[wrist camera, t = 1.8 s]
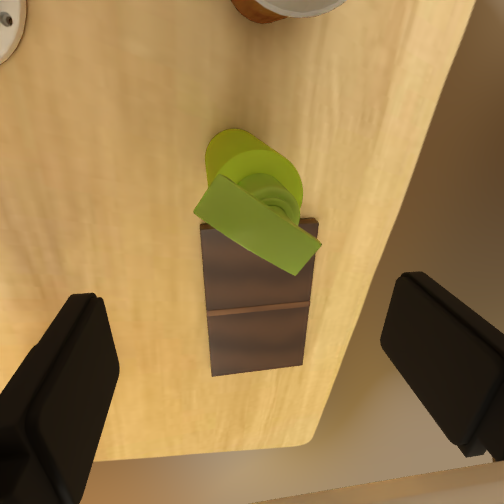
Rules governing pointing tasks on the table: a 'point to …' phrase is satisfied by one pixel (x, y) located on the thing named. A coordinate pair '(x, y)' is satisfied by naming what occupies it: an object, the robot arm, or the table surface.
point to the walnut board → (253, 306)
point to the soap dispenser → (256, 200)
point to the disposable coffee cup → (283, 8)
